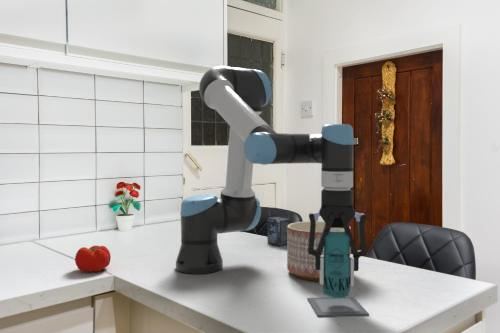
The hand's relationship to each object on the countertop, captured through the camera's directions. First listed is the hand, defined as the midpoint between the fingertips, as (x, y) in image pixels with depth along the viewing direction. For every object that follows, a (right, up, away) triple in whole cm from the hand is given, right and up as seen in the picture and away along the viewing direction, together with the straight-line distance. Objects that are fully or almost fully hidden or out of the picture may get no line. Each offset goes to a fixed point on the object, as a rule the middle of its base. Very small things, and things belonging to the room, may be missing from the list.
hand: (336, 283), depth 108 cm
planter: (0, -5, +29) cm, 30 cm away
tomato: (-71, -5, +34) cm, 79 cm away
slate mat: (0, -6, 0) cm, 6 cm away
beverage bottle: (0, -4, 0) cm, 4 cm away
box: (-9, -3, +73) cm, 73 cm away
